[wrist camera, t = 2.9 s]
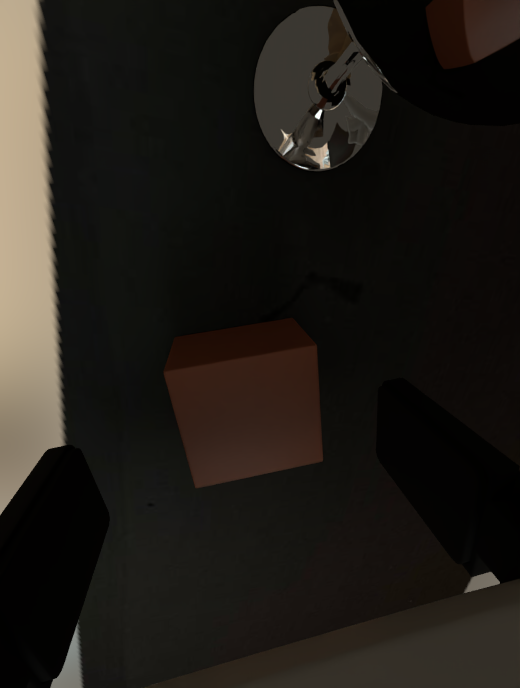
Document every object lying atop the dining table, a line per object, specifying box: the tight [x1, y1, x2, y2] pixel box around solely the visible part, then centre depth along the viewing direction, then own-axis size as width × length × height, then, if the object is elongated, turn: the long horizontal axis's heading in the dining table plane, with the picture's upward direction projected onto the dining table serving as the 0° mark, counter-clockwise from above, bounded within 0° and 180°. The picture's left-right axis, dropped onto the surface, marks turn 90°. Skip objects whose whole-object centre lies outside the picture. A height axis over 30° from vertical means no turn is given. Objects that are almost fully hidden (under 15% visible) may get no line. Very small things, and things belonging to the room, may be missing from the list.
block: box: [163, 318, 323, 488], centre depth 12 cm, size 5×5×3 cm
